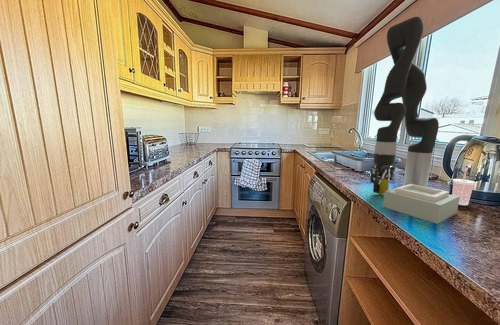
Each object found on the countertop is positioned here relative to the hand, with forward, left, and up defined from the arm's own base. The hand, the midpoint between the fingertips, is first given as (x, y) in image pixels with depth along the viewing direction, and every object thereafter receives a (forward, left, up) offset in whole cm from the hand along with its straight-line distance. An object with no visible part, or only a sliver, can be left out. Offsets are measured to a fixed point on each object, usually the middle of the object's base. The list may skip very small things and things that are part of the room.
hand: (380, 191), depth 91 cm
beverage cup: (-17, +21, -2) cm, 27 cm away
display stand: (+5, +16, -2) cm, 17 cm away
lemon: (0, 0, -2) cm, 2 cm away
